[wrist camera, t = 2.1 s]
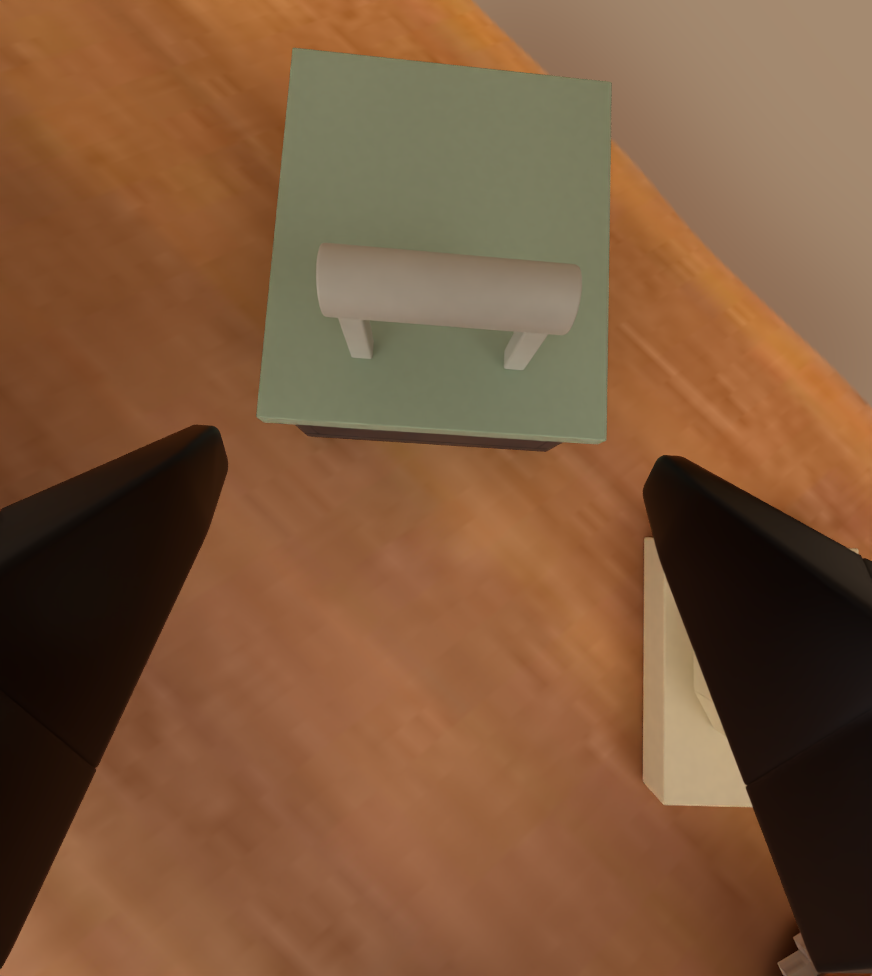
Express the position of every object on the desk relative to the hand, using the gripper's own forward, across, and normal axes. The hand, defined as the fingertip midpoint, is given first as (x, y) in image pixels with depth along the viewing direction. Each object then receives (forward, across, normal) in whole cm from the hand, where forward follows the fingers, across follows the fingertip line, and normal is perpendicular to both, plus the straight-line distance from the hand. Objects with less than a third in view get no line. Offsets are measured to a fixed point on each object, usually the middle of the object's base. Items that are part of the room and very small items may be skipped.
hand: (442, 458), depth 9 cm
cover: (+10, 0, -2) cm, 10 cm away
